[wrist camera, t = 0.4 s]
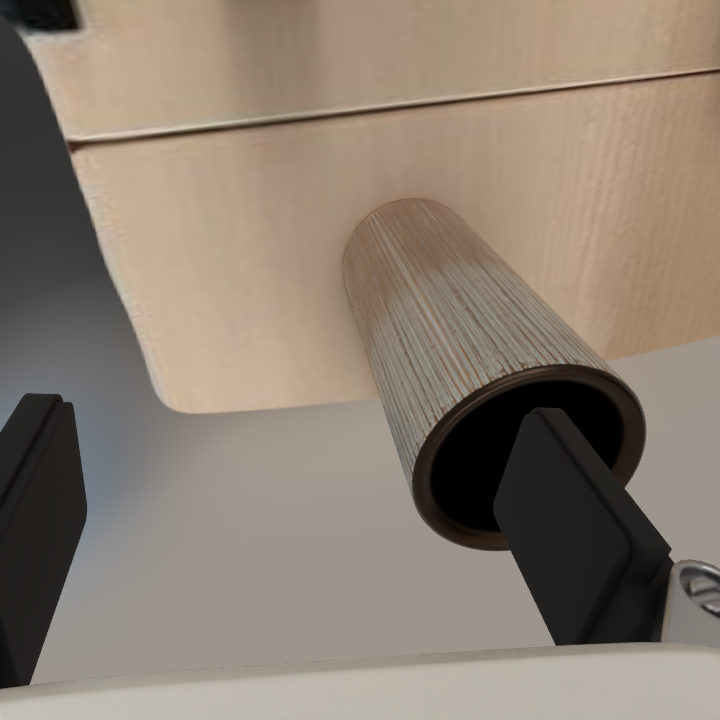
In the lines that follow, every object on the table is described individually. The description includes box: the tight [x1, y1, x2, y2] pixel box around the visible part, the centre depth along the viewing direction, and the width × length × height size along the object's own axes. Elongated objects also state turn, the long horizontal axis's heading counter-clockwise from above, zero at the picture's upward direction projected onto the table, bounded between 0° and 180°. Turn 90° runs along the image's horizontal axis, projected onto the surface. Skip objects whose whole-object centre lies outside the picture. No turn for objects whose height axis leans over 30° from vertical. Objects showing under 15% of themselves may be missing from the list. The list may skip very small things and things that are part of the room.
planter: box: [343, 199, 646, 551], centre depth 32 cm, size 10×10×23 cm
